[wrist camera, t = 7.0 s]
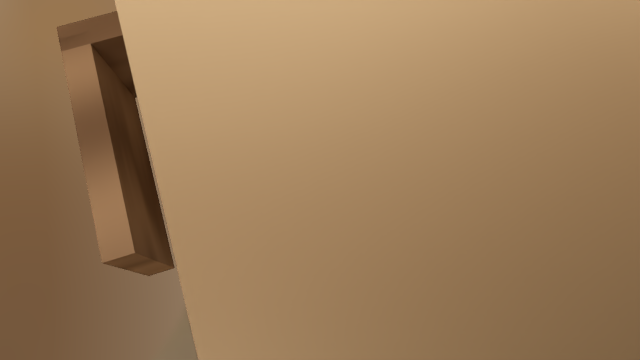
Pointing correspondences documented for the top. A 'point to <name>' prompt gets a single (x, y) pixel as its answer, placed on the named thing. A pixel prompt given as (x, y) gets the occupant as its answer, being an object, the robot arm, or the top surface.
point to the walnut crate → (113, 146)
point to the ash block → (397, 174)
